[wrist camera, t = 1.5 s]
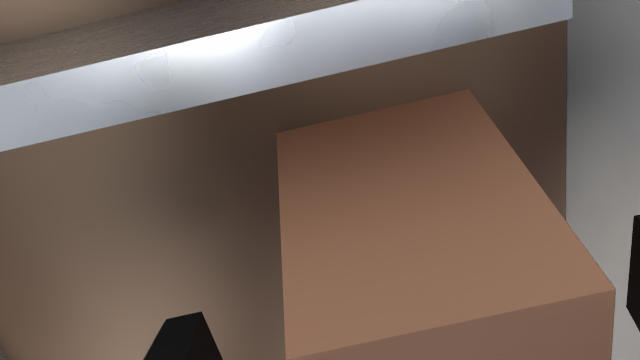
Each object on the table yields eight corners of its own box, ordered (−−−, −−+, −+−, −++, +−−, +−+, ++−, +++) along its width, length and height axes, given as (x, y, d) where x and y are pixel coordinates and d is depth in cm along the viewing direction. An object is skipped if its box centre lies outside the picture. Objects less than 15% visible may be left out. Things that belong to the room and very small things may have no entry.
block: (468, 88, 12) (615, 289, 7) (482, 241, 14) (602, 479, 9) (276, 133, 12) (286, 359, 7) (317, 277, 14) (347, 531, 9)
